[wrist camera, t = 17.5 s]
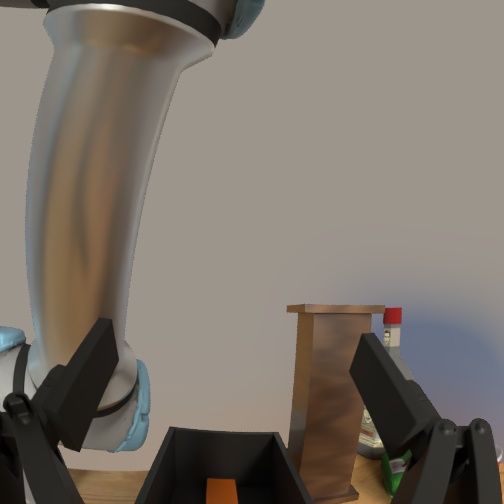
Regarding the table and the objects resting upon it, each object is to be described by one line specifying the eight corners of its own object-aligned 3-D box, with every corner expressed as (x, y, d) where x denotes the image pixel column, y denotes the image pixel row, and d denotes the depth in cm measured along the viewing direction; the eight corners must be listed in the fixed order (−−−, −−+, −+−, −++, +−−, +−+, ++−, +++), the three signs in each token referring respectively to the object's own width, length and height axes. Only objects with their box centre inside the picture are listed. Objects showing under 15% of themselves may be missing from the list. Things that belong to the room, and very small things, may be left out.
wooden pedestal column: (285, 510, 28) (304, 304, 34) (273, 478, 38) (286, 305, 44) (357, 499, 29) (385, 305, 35) (335, 471, 38) (353, 307, 44)
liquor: (375, 437, 51) (388, 308, 57) (406, 448, 43) (423, 307, 49) (346, 449, 47) (360, 308, 53) (378, 463, 39) (397, 307, 45)
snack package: (384, 511, 24) (393, 485, 25) (376, 464, 39) (381, 441, 40) (430, 506, 22) (441, 479, 23) (412, 462, 37) (418, 439, 38)
